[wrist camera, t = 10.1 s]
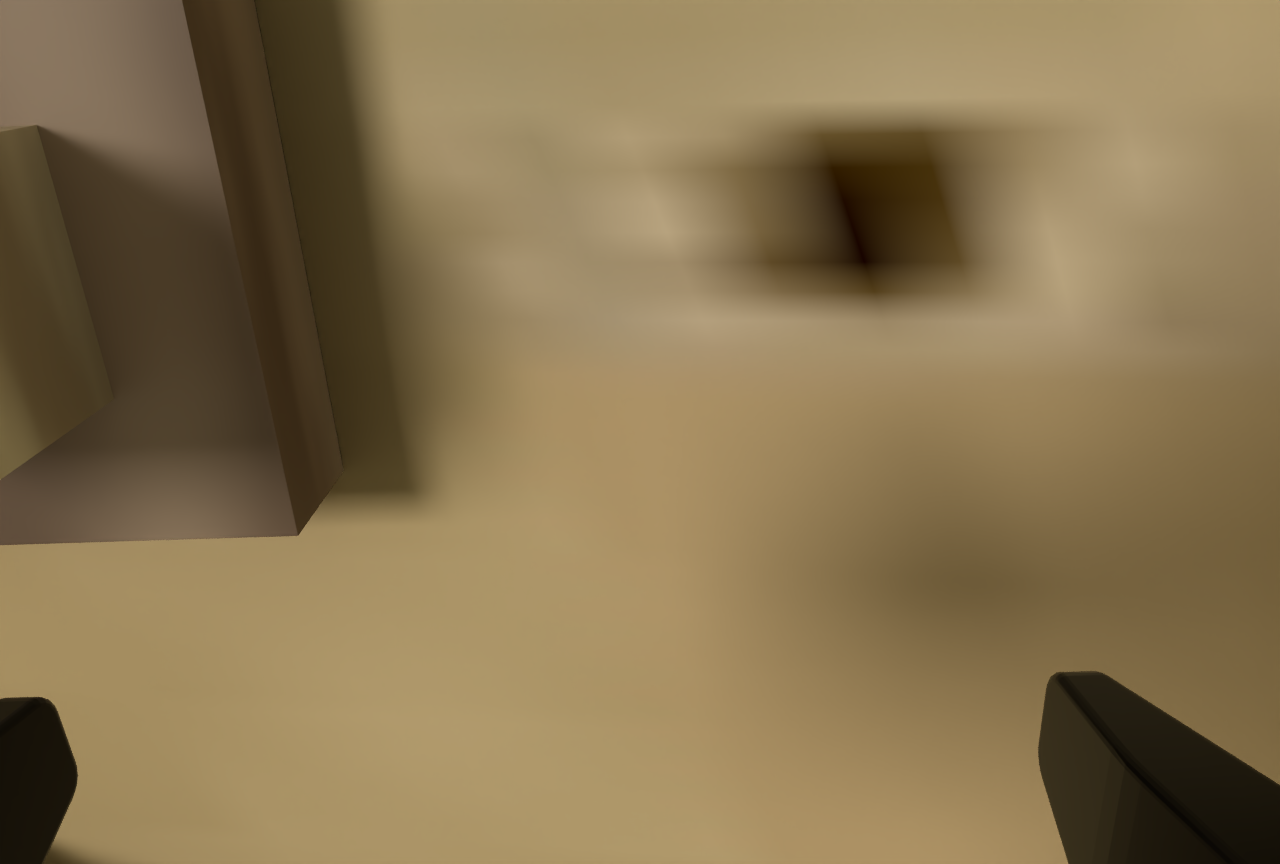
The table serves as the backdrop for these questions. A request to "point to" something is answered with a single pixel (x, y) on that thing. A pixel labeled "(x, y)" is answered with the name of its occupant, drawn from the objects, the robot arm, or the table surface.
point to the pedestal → (171, 276)
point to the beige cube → (40, 311)
